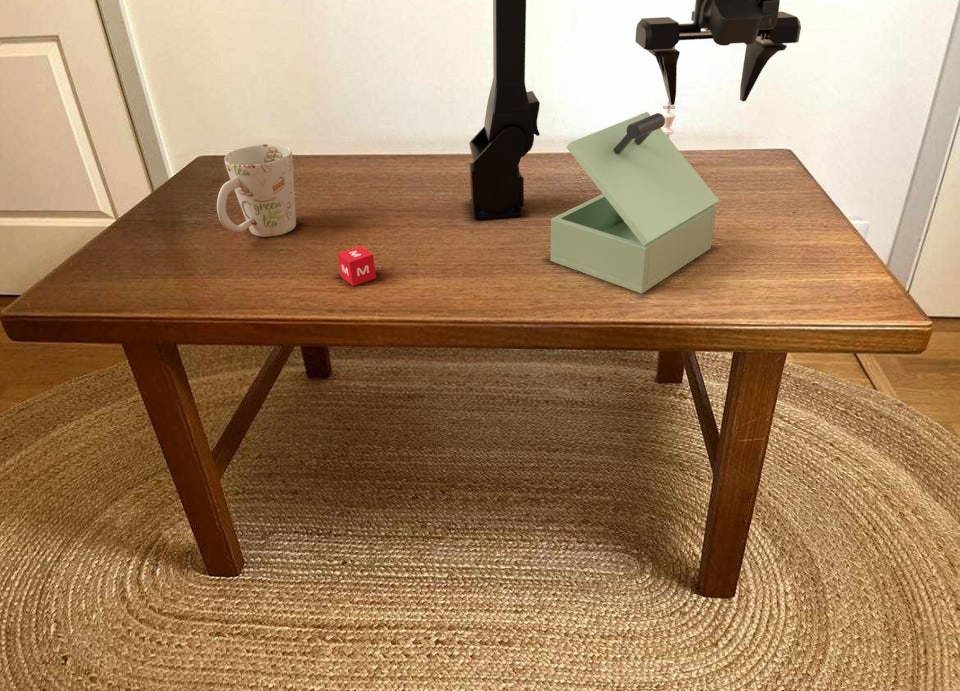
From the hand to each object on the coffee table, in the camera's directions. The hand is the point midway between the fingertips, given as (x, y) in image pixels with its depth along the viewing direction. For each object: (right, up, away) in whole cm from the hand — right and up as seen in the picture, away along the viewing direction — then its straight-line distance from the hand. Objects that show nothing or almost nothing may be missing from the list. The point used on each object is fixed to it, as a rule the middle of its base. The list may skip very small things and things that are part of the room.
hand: (707, 102), depth 93 cm
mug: (-58, -17, +2) cm, 60 cm away
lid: (-11, -13, -14) cm, 22 cm away
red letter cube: (-43, -24, -10) cm, 50 cm away
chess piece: (-1, -5, +17) cm, 17 cm away
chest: (-11, -21, -8) cm, 25 cm away
